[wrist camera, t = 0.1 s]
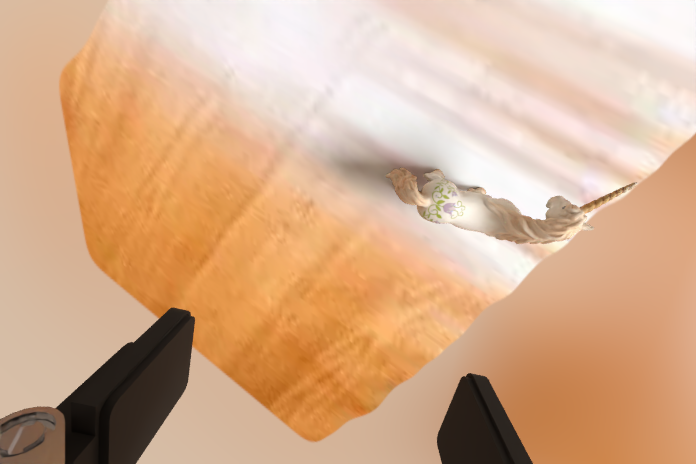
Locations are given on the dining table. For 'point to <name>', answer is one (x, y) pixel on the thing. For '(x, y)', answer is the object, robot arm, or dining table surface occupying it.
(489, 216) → the unicorn figurine
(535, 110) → the dining table surface
